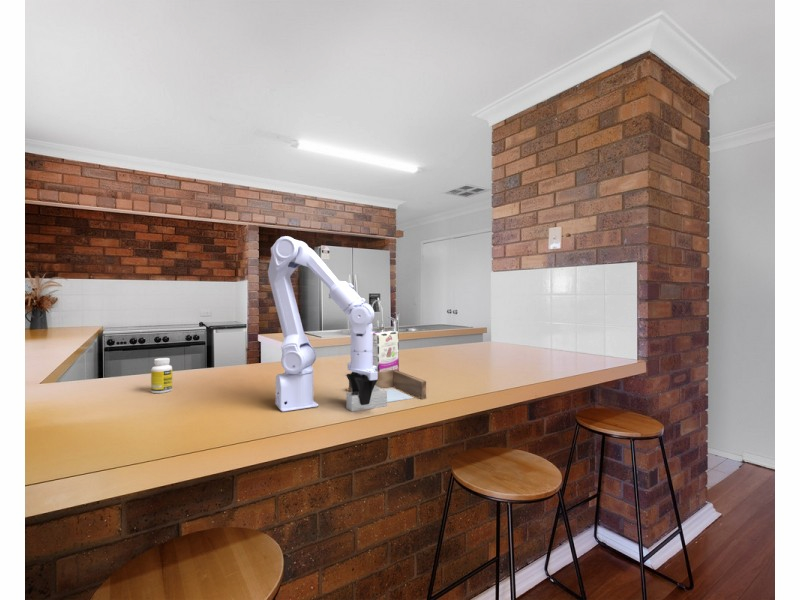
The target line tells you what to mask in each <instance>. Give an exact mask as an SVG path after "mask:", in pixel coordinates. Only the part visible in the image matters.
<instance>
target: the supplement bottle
mask: <svg viewBox="0 0 800 600" xmlns="http://www.w3.org/2000/svg"><path fill="white" fill-rule="evenodd" d="M153 360H154V361H153V364H154V366H152V368H151V370H150V379H151V380H150V381H151V382H150V384H151V385H150V390H151V391H150V392H151V393H153V394H164V393H165V394H166V393H169V392H172V390H173V366H172V365H171V364H170V362H171V358H170V357H158V358H154V359H153Z"/></svg>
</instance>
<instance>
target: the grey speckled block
mask: <svg viewBox="0 0 800 600" xmlns="http://www.w3.org/2000/svg"><path fill="white" fill-rule="evenodd" d="M345 400H346V401H345V402H346V407H345V408H346V409H348V411H350V412H358V411H365V410H370V409H375V408H382V407H383V408H384V407H388V406H387V405H388V402H387V391H386V390H385V388H380V387H378V386H376V385H375V386H374V388H373V391H372V394H371V398H370V402H369V404H367V405H361V403H360V398H359V391H355V392H346V399H345Z"/></svg>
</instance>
